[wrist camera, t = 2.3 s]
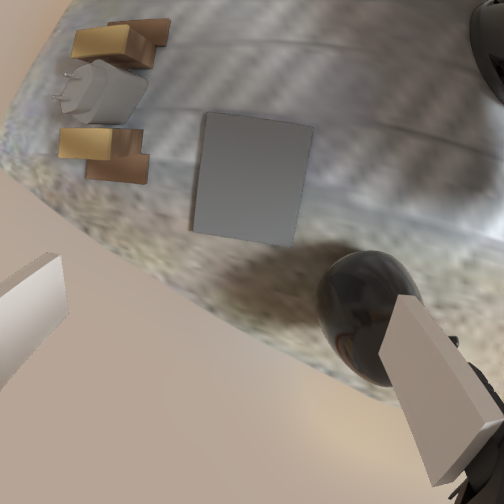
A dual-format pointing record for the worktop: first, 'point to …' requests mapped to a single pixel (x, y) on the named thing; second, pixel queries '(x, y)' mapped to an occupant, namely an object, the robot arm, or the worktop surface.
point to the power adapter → (102, 93)
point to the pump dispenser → (362, 309)
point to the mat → (251, 178)
